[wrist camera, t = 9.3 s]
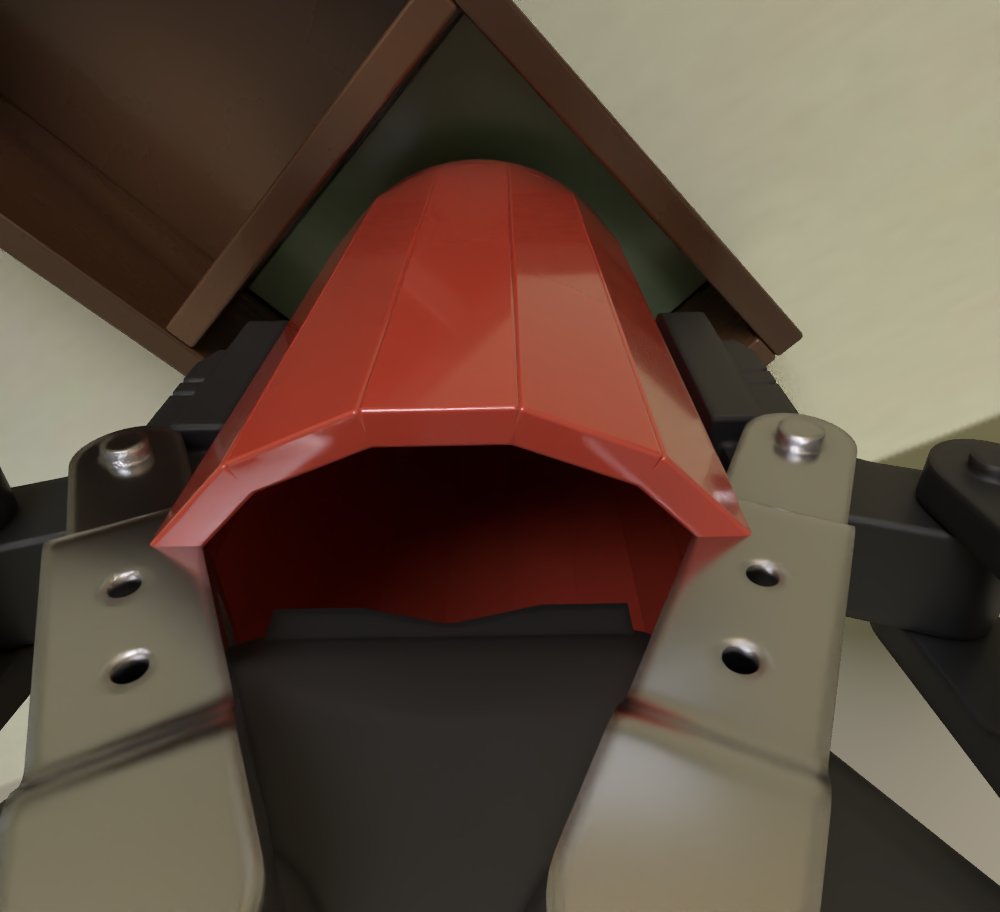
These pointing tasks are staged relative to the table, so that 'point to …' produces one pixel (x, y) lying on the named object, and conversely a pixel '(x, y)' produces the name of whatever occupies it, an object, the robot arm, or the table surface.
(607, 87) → the table surface
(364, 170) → the caddy
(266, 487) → the cup
